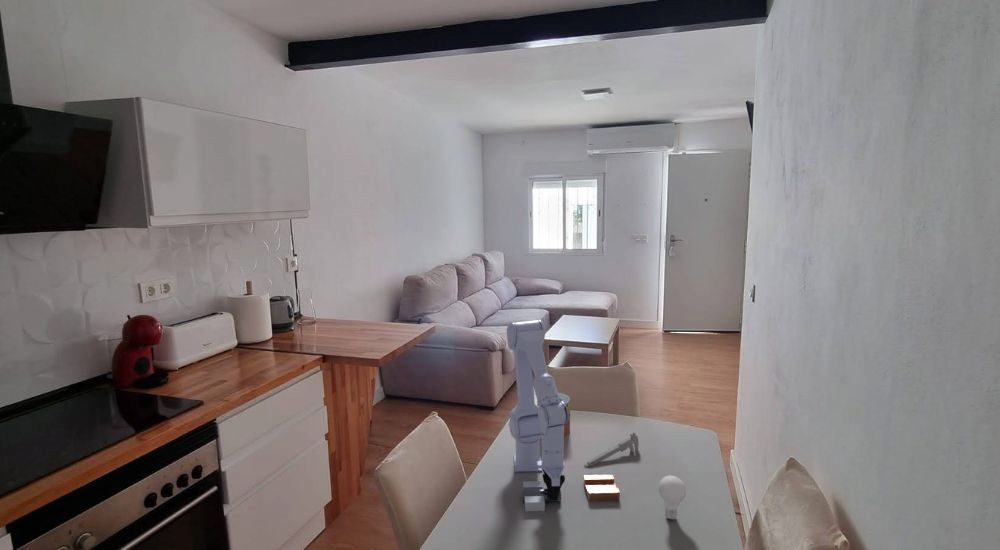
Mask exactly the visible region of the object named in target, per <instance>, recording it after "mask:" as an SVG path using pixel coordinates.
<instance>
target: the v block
mask: <svg viewBox="0 0 1000 550" xmlns="http://www.w3.org/2000/svg"><path fill="white" fill-rule="evenodd" d="M583 485H584V489H585V492H586V496H587V499H588V502H591V503H593V502H620V498H621V497H620V495H621V493H620V492H621V491H620V490H619V487H617V485H616V483H615V477H614V475H613V474H591V475H590V474H584V475H583Z"/></svg>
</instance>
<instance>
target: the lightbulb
mask: <svg viewBox="0 0 1000 550" xmlns="http://www.w3.org/2000/svg"><path fill="white" fill-rule="evenodd" d="M686 488H687V487H686V485H685V483H684V482H683V481H682V479H680V478H679V477H677V476H675V475H666V476H665V475H664V477H662V478H661V479H660V481H659V482H658V492H659V494H660V497H661V498H662V500H663V502H664V504H663V505H664V506H665V513H664V515H665V517H666V519H669V520H676V519H677V518H678V517H677V513H678V512H677V511H678V508H679V506H680V504H681V503H682V502H683V501H684V499H685V497H686V495H687V489H686Z"/></svg>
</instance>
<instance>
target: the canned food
mask: <svg viewBox="0 0 1000 550" xmlns="http://www.w3.org/2000/svg"><path fill="white" fill-rule="evenodd" d="M557 392H558V395H559V398H562V400H563V402H564V403H565V405H566V407H567V411H568V422H567V423H566V424H563V425H564V439H566V438H568V437H569V436H570V435H571V396H569V395H568V394H567V393H563V392H559V391H557ZM536 405H537V406H539V404H538V401H536Z"/></svg>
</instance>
